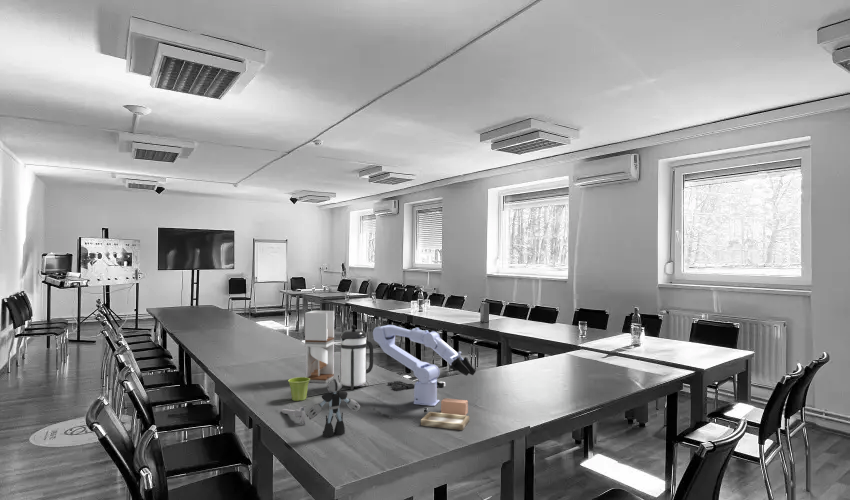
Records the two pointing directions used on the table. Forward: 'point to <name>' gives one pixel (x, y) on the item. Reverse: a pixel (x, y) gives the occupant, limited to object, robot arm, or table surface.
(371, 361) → the coffee press
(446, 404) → the salmon orange block
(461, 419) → the wooden tray
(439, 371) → the robot arm
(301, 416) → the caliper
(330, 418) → the robot
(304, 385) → the plant pot
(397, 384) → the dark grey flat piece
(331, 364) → the white and brown tower
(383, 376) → the table surface
